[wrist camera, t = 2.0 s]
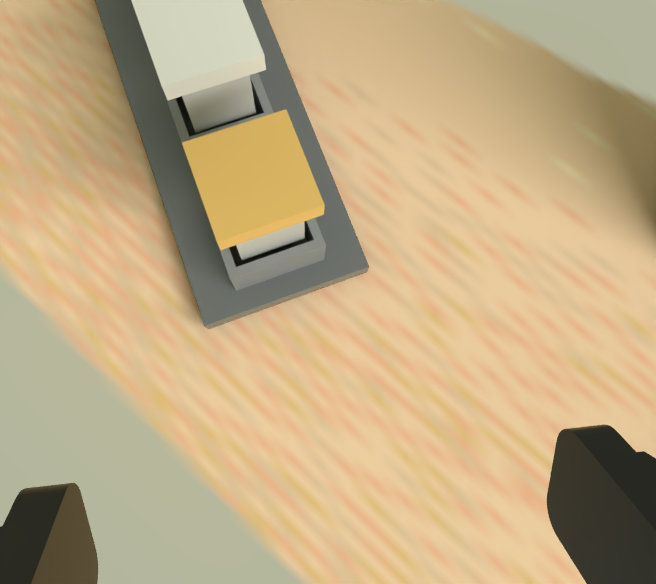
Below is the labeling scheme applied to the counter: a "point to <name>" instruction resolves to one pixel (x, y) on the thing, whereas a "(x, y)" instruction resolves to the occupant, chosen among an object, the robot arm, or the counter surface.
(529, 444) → the counter surface
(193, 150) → the amber key
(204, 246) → the keypad
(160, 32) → the middle key
